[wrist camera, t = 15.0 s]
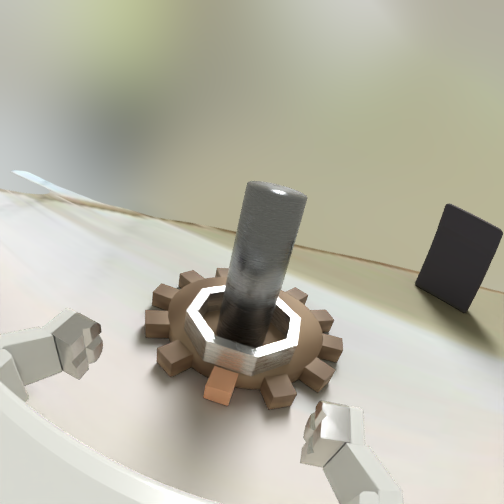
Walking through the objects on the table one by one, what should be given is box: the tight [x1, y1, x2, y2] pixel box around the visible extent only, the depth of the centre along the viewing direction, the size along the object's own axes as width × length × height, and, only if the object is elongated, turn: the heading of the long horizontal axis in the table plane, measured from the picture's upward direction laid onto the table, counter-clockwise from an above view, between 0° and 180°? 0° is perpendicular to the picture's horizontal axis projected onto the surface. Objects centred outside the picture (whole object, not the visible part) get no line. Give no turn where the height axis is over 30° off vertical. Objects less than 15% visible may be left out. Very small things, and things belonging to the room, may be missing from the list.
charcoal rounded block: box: [415, 204, 503, 313], centre depth 41 cm, size 11×4×15 cm, turn 45°
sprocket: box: [145, 268, 343, 410], centre depth 26 cm, size 18×18×4 cm
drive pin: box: [216, 181, 307, 348], centre depth 22 cm, size 4×4×12 cm
